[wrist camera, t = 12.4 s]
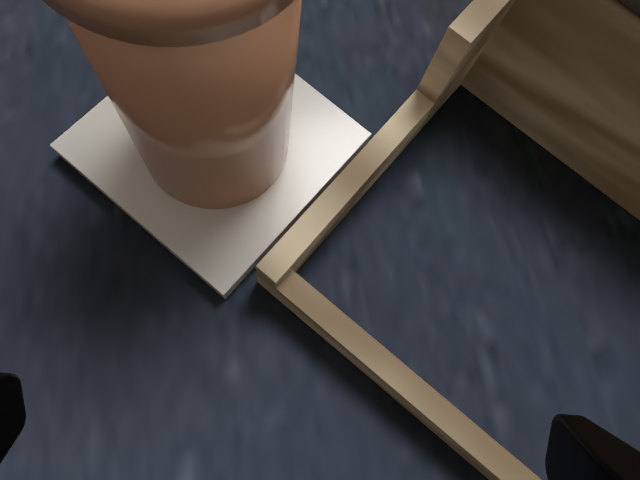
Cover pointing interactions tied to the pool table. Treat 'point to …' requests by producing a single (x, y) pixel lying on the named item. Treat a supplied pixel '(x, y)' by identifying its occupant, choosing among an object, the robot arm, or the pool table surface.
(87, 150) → the paving tile
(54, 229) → the pool table surface
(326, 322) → the cold frame
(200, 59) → the terracotta pot
